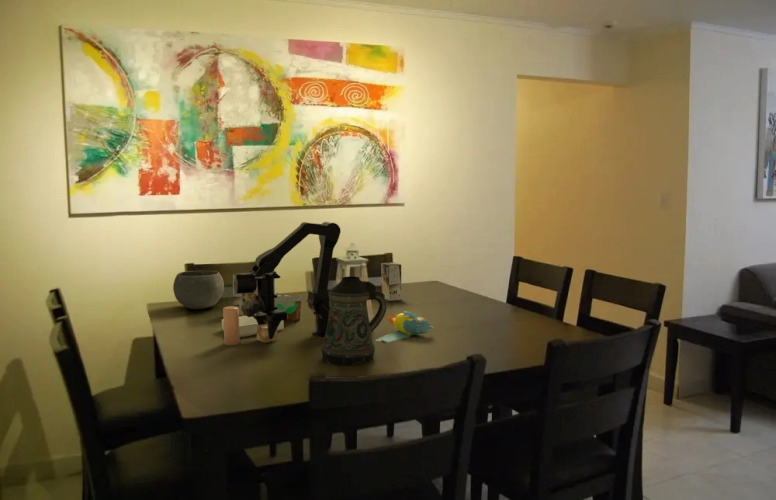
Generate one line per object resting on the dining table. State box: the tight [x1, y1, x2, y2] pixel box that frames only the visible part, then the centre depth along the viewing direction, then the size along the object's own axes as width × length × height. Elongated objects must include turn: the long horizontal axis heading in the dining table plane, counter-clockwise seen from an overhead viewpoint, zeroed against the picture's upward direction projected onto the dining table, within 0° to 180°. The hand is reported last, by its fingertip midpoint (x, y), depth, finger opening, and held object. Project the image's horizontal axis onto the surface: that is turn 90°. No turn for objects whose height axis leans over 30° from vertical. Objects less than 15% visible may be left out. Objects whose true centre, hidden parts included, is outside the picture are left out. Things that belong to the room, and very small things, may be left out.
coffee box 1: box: [232, 272, 257, 316], centre depth 261 cm, size 9×6×16 cm
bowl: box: [172, 270, 225, 310], centre depth 270 cm, size 20×20×15 cm
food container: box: [275, 292, 304, 323], centre depth 247 cm, size 12×6×10 cm, turn 62°
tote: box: [221, 315, 285, 338], centre depth 232 cm, size 14×18×4 cm
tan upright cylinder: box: [222, 306, 241, 346], centre depth 214 cm, size 5×5×12 cm
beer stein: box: [320, 276, 388, 367], centre depth 196 cm, size 16×19×25 cm
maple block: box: [256, 324, 278, 344], centre depth 218 cm, size 5×5×5 cm
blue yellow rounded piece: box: [374, 310, 434, 344], centre depth 226 cm, size 28×9×15 cm
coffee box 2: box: [380, 261, 402, 302], centre depth 290 cm, size 9×6×16 cm
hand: (267, 337), depth 218 cm, fingers closed on maple block, 5 cm apart
